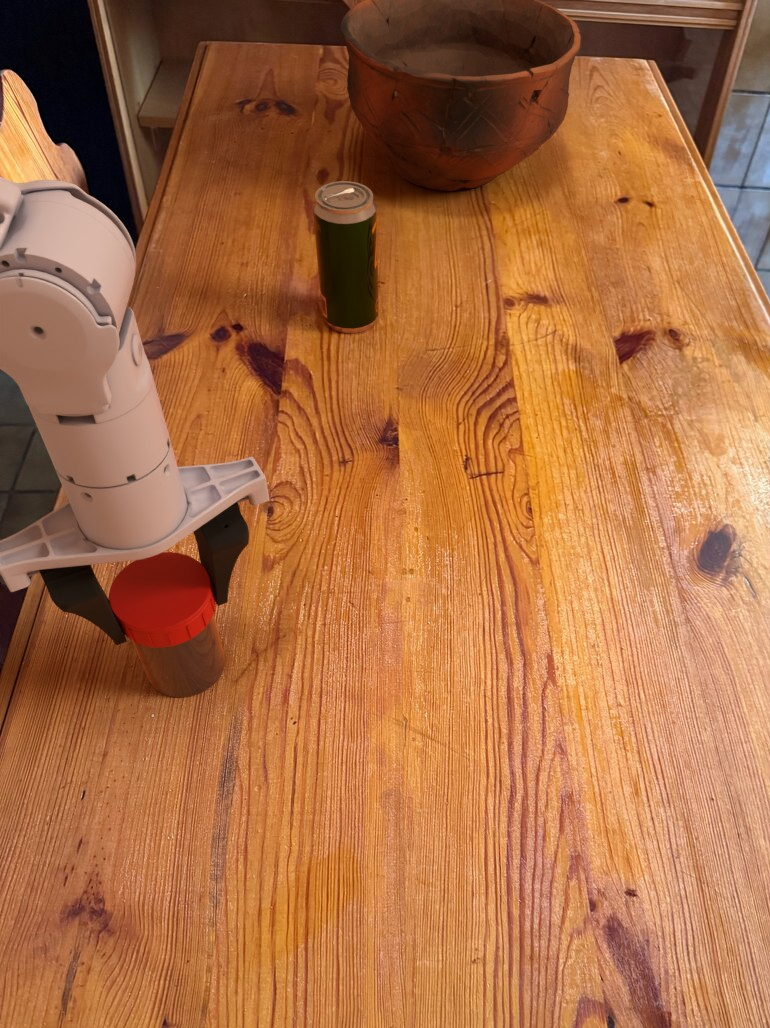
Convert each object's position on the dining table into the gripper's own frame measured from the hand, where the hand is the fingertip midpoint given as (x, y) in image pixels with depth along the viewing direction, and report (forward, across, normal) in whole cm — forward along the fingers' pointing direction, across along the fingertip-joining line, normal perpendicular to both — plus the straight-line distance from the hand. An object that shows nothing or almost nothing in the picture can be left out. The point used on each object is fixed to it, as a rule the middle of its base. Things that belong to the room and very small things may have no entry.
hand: (168, 611), depth 55 cm
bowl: (+6, -50, -51) cm, 72 cm away
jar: (+6, 0, 0) cm, 6 cm away
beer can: (+6, -27, -30) cm, 41 cm away
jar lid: (-2, 0, 0) cm, 2 cm away
